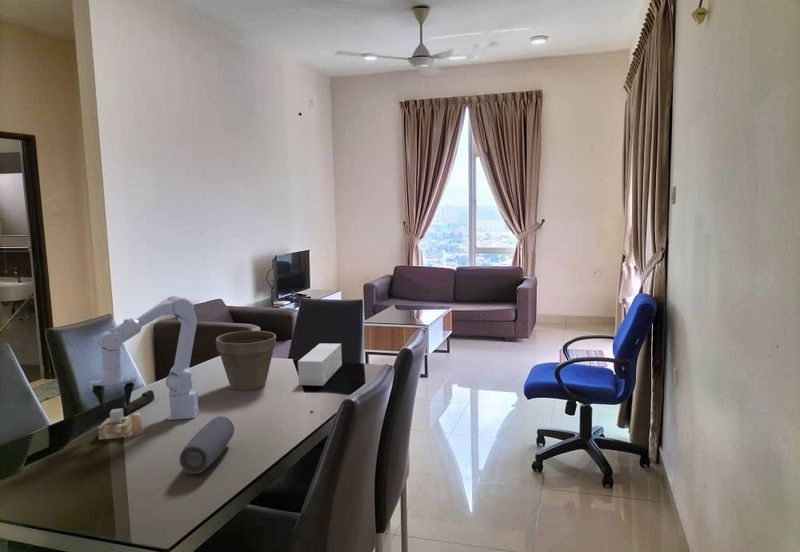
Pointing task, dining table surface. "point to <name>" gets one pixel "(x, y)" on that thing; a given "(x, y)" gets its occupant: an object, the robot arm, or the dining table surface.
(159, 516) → the dining table surface
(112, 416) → the square bit
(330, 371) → the long white block
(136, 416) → the round dowel
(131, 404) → the hand tool
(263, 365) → the plant pot
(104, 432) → the socket block
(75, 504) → the dining table surface
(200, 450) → the bluetooth speaker
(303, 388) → the dining table surface
